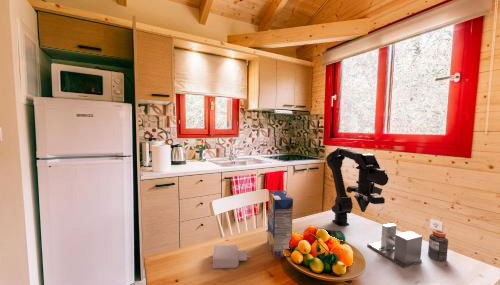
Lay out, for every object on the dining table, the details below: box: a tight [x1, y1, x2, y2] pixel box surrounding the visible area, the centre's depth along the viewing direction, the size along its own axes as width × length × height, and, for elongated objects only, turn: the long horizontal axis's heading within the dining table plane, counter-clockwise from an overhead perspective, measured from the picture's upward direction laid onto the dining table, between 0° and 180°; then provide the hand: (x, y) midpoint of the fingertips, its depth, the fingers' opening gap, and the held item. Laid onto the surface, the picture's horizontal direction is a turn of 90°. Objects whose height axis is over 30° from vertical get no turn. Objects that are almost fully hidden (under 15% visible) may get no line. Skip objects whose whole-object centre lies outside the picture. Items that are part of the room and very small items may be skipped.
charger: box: [212, 244, 253, 269], centre depth 85 cm, size 5×9×15 cm
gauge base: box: [367, 230, 423, 269], centre depth 92 cm, size 16×11×11 cm
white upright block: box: [378, 222, 397, 250], centre depth 93 cm, size 5×8×10 cm, turn 111°
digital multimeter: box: [324, 228, 346, 242], centre depth 106 cm, size 7×15×3 cm, turn 78°
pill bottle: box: [427, 229, 449, 262], centre depth 90 cm, size 6×6×11 cm
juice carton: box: [266, 190, 294, 258], centre depth 94 cm, size 12×8×24 cm, turn 7°
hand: (363, 211), depth 104 cm, fingers closed
